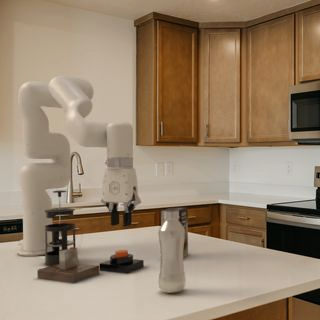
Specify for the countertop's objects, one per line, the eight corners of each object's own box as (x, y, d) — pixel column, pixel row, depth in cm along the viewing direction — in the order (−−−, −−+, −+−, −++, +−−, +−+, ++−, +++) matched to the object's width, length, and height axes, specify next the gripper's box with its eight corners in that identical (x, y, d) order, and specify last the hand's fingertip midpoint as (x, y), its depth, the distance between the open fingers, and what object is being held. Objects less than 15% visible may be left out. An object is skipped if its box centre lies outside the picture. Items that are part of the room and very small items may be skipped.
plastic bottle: (159, 288, 115) (158, 209, 115) (186, 287, 115) (185, 209, 115) (157, 296, 108) (156, 213, 108) (185, 295, 109) (184, 212, 109)
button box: (99, 270, 133) (99, 257, 133) (116, 264, 141) (116, 251, 141) (127, 274, 129) (127, 260, 129) (143, 267, 137) (143, 254, 137)
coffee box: (180, 260, 145) (179, 210, 144) (161, 260, 146) (160, 210, 146) (189, 254, 154) (188, 207, 153) (171, 254, 155) (170, 206, 155)
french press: (81, 263, 143) (79, 190, 142) (49, 268, 137) (48, 192, 137) (69, 257, 152) (68, 188, 152) (40, 261, 146) (38, 190, 146)
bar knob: (64, 269, 125) (64, 250, 125) (59, 269, 126) (59, 250, 126) (77, 265, 129) (77, 247, 129) (72, 265, 130) (72, 247, 130)
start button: (112, 257, 134) (112, 252, 134) (120, 255, 137) (120, 249, 137) (122, 258, 133) (122, 252, 133) (130, 256, 136) (130, 250, 136)
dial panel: (37, 278, 125) (37, 269, 125) (64, 270, 135) (64, 261, 135) (73, 283, 120) (73, 273, 120) (99, 274, 130) (99, 264, 130)
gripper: (89, 164, 134) (90, 225, 135) (135, 164, 128) (136, 228, 128) (106, 163, 141) (107, 222, 142) (151, 163, 135) (151, 224, 135)
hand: (121, 224), depth 135 cm, fingers open, 3 cm apart
